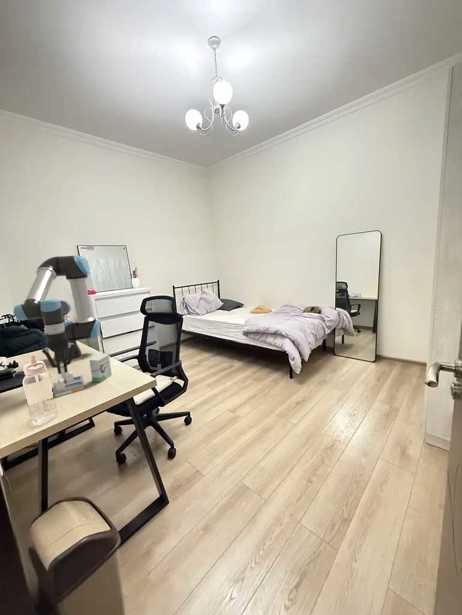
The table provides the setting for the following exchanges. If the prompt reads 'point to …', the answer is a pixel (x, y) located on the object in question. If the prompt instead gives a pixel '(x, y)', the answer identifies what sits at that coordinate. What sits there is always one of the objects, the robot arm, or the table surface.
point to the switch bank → (70, 386)
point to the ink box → (100, 368)
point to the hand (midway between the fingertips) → (64, 379)
